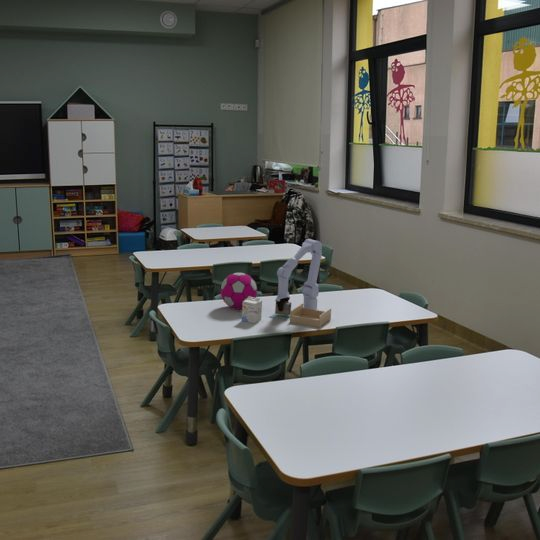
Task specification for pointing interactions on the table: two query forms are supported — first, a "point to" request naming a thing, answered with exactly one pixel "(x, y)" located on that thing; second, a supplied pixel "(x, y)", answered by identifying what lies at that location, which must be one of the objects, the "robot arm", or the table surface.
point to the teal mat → (280, 316)
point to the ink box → (252, 310)
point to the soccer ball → (238, 289)
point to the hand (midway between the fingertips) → (282, 310)
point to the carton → (309, 316)
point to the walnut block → (284, 309)
